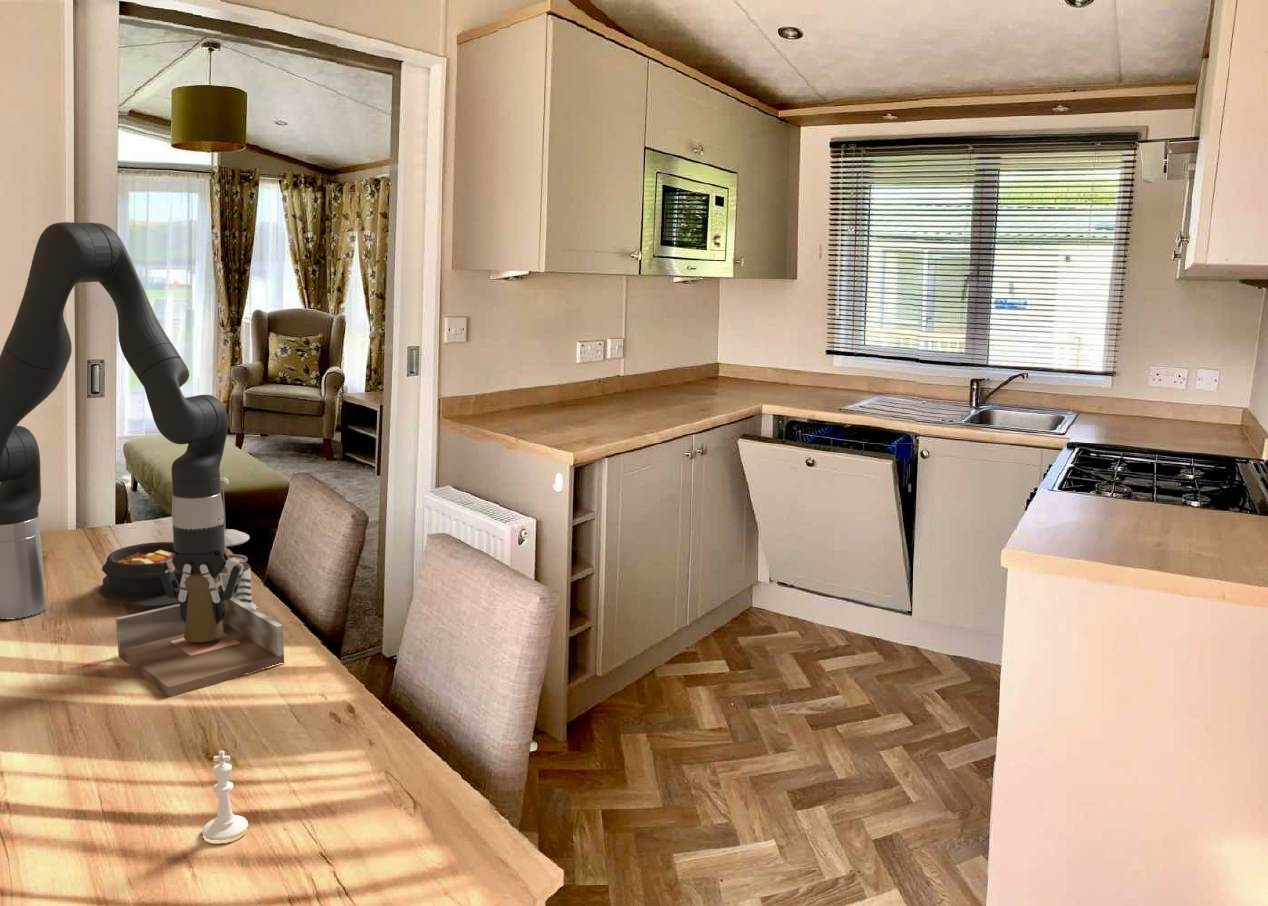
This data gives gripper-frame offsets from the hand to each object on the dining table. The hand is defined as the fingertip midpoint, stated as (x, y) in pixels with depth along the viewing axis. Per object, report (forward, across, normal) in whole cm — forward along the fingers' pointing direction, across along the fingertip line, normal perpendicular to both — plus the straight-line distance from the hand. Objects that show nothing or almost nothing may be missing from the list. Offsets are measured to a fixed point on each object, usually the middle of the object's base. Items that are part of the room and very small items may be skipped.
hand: (203, 621), depth 160 cm
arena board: (+5, +1, -4) cm, 6 cm away
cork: (+3, 0, 0) cm, 3 cm away
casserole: (+6, -20, +26) cm, 33 cm away
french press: (+5, -3, +18) cm, 19 cm away
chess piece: (+5, +23, -51) cm, 56 cm away
